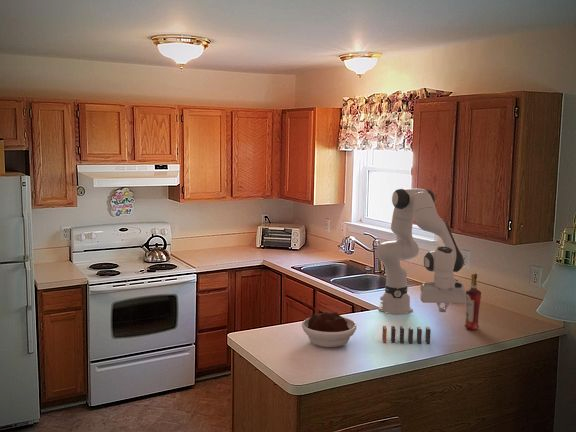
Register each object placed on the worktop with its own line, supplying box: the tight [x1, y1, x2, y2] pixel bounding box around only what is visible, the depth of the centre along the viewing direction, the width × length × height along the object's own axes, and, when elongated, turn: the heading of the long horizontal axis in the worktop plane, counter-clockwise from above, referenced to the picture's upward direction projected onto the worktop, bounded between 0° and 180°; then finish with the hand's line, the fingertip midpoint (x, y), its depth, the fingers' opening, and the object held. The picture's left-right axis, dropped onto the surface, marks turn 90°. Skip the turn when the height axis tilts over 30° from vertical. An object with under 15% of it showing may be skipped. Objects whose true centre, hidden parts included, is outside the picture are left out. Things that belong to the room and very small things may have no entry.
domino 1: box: [381, 325, 388, 344], centre depth 275 cm, size 4×1×7 cm, turn 178°
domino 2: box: [390, 325, 397, 344], centre depth 275 cm, size 4×1×7 cm, turn 178°
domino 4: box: [407, 325, 414, 345], centre depth 275 cm, size 4×1×7 cm, turn 178°
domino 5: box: [416, 326, 423, 345], centre depth 274 cm, size 4×1×7 cm, turn 178°
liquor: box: [464, 272, 482, 331], centre depth 294 cm, size 7×7×28 cm
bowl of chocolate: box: [301, 311, 357, 348], centre depth 272 cm, size 25×25×15 cm
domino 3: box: [399, 325, 405, 345], centre depth 275 cm, size 4×1×7 cm, turn 178°
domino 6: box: [424, 326, 432, 345], centre depth 274 cm, size 4×1×7 cm, turn 178°
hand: (442, 311), depth 272 cm, fingers closed
